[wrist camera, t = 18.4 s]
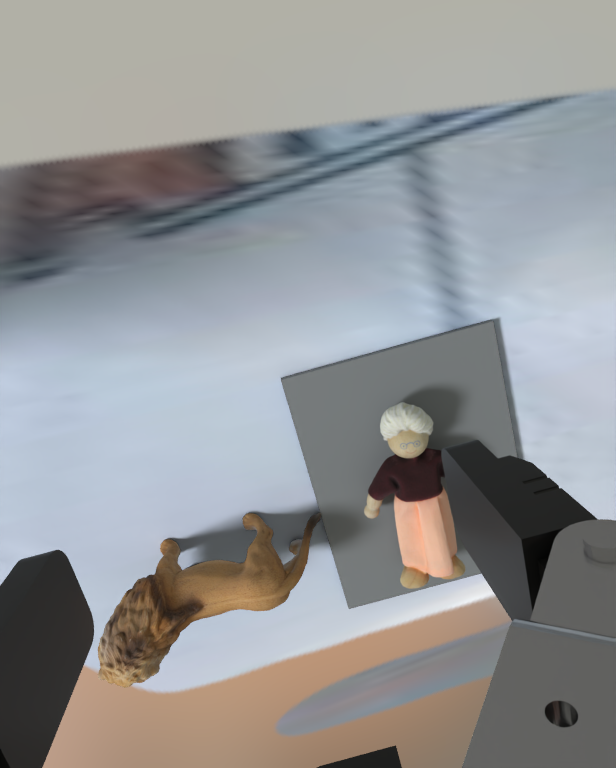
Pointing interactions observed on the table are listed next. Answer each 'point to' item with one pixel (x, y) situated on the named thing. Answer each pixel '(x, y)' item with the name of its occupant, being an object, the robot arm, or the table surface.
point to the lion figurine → (194, 600)
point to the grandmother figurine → (416, 498)
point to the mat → (369, 450)
